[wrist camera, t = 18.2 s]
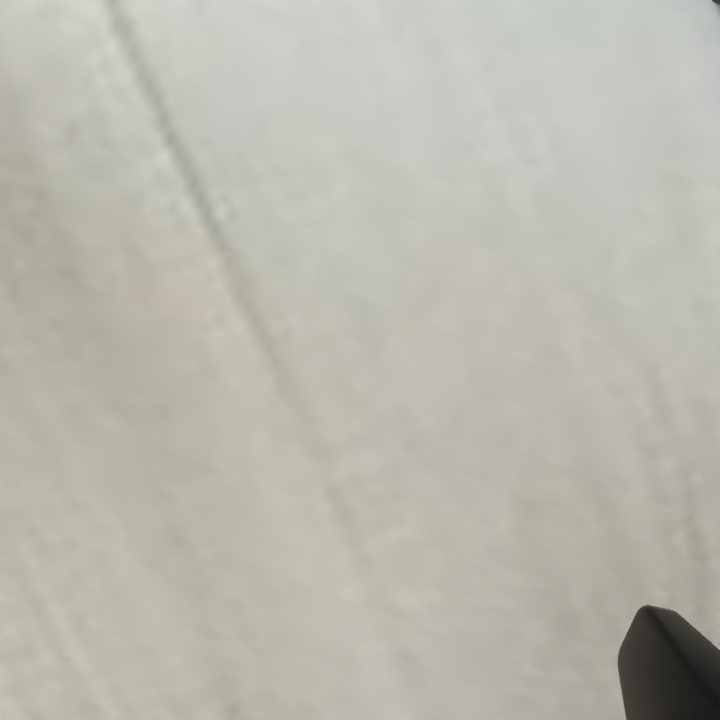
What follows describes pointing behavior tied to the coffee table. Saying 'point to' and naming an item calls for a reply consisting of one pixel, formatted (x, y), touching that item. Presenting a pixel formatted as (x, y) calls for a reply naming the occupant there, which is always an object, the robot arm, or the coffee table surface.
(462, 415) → the coffee table surface
